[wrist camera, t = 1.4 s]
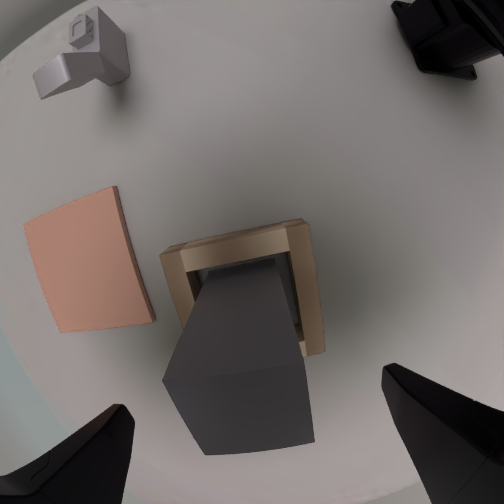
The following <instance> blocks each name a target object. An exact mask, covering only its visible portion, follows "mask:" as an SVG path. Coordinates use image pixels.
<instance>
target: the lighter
mask: <svg viewBox="0 0 504 504" xmlns="http://www.w3.org/2000/svg"><path fill="white" fill-rule="evenodd" d="M69 44H71V45H72V46H73V53H62V54H60V55H58V56H56V57H55V58H53V59H52V60H51V61H49V62H48V63H46V64H45V65H44V66H42V67H41V68H40V69H38V70H37V71H36V72H35V73H33V78H34V81H35V85H36V88H37V90H38V93H39V96H40V99H41V100H42V99H45V98H48V97H50V96H53V95H56V94H59V93H62V92H65V91H68V90H71V89H74V88H78V87H80V86H82V85H84V84H86V83H88V82H89V81H91V80H93V79H95V78H97V79H98V80H100V81H102V82H103V83H105V84H107V85H109V86H111V85H113V84H115V83H117V82H120V81H122V80H124V79H126V78H128V77H129V76H130V68H129V62H128V55H127V48H126V40H125V34H124V33H123V32H122V31H121V29H120V28H119V27H118V26H117V25H116V24H115V23H114V22H113V21H112V20H111V19H110V18H109V17H108V16H107V15H106V14H105V13H104V12H103V11H102V10H101V9H100V8H99V7H98V6H94V7H93V8H91V9H89V10H87V11H86V12H84V13H82V14H79V15H78V16H77V17H76V18H75V19H74V20H73V21H72V22H71V23H69Z"/></svg>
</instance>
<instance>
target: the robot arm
mask: <svg viewBox="0 0 504 504" xmlns="http://www.w3.org/2000/svg"><path fill="white" fill-rule="evenodd" d="M398 6H399V7H398ZM392 8H393V9H394V11H395V13H396V15H397V17H398V19H399V22H400V24H401V26H402V28H403V30H404V32H405V35H406V37H407V39H408V42H409V44H410V47H411V49H412V51H413V54H414V57H415V59H416V62H417V65H418V67H419V69H420V70H421V71H423V72H425V73H432V74H440V75H446V76H452V77H458V78H463V79H468V80H475V79H477V75H476V72H475V69H474V66H473V64H475V63H477V62H480V61H482V60H485V59H488V58H490V57H493V56H496V55H498V54H502V55H503V56H504V0H415V1H414V2H413V3H412V4H410V3H406V2H401V1H394V2H393V3H392ZM423 64H424V65H425V66H424V65H423ZM381 386H382V390H383V393H384V396H385V398H386V401H387V404H388V407H389V410H390V412H391V415H392V418H393V421H394V424H395V426H396V428H397V430H398V432H399V434H400V436H401V438H402V440H403V442H404V444H405V446H406V448H407V451H408V453H409V455H410V457H411V459H412V461H413V463H414V465H415V467H416V470H417V472H418V474H419V476H420V478H421V480H422V483H423V485H424V487H425V489H426V491H427V494H428V496H429V498H430V501H431V503H432V504H504V411H501V410H498V409H495V408H492V407H490V406H487V405H485V404H482V403H480V402H478V401H473V399H471V398H469V397H466V396H464V395H462V394H460V393H458V392H455V391H453V390H451V389H449V388H447V387H445V386H442V385H440V384H438V383H436V382H434V381H432V380H430V379H428V378H426V377H423V376H421V375H419V374H417V373H415V372H413V371H411V370H409V369H407V368H405V367H403V366H401V365H399V364H397V363H391V364H388V365H385V366H384V367H383V370H382V382H381ZM134 428H135V421H134V418H133V417H132V415H131V414H130V412H129V411H128V409H127V408H126V406H125V405H123V404H113V405H112V406H110V407H109V408H108V409H106V410H105V411H104V412H102V413H101V414H100V415H98V416H97V417H96V418H94V419H93V420H91V421H90V422H89V423H87V424H86V425H85V426H83V427H82V428H80V429H79V430H78V431H76V432H75V433H73V434H72V435H71V436H69V437H68V438H67V439H65V440H64V441H62V442H61V443H59V444H58V445H57V446H55V447H54V448H52V449H51V450H49V451H48V452H47V453H45V454H43V455H42V456H40V457H39V458H37V459H36V460H34V461H32V462H30V463H29V464H27V465H25V466H23V467H21V468H19V469H17V470H15V471H14V472H12V473H10V474H7V475H4V476H0V504H121V503H122V498H123V493H124V488H125V483H126V478H127V473H128V469H129V464H130V459H131V453H132V444H133V436H134Z"/></svg>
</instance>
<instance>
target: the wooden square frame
mask: <svg viewBox="0 0 504 504" xmlns="http://www.w3.org/2000/svg"><path fill="white" fill-rule="evenodd" d="M286 251H287V255H288V261H289V266H290V272H291V277H292V283H293V289H294V295H295V300H296V306H297V312H298V318H299V325H296V326H294V327H295V331H296V334H297V338H298V341H299V345H300V348H301V352H302V356H303V357H306V356H310V355H314V354H319V353H323V352H326V349H325V339H324V330H323V321H322V313H321V304H320V297H319V289H318V282H317V275H316V268H315V261H314V255H313V248H312V242H311V236H310V230H309V224H308V223H307V222H305V221H304V220H303V219H296V220H291V221H286V222H282V223H277V224H272V225H267V226H262V227H257V228H253V229H248V230H243V231H239V232H234V233H229V234H225V235H220V236H215V237H211V238H206V239H202V240H197V241H193V242H189V243H184V244H180V245H175V246H171V247H169V248H168V249H166V250H165V251H164V252H163V253H162V254H160V255H159V256H160V259H161V263H162V266H163V270H164V273H165V276H166V279H167V283H168V286H169V289H170V292H171V295H172V298H173V301H174V304H175V307H176V310H177V313H178V316H179V319H180V322H181V324H182V327H183V330H184V327H185V325H186V323H187V320H188V318H189V316H190V313H191V311H192V309H193V306H194V304H195V302H196V300H197V297H198V295H199V293H200V290H201V288H200V285H199V281H198V278H197V274H196V271H195V270H199V269H204V268H209V267H214V266H219V265H224V264H228V263H233V262H238V261H243V260H248V259H253V258H258V257H262V256H267V255H272V254H277V253H282V252H286Z"/></svg>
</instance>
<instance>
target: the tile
mask: <svg viewBox="0 0 504 504" xmlns="http://www.w3.org/2000/svg"><path fill="white" fill-rule="evenodd" d="M23 226H24V230H25V234H26V238H27V242H28V246H29V250H30V253H31V257H32V260H33V263H34V266H35V270H36V273H37V276H38V279H39V281H40V284H41V287H42V290H43V293H44V295H45V298H46V300H47V303H48V306H49V308H50V310H51V313H52V315H53V318H54V320H55V322H56V324H57V327H58V329H59V331H60V333H65V332H76V331H87V330H97V329H106V328H115V327H123V326H132V325H139V324H147V323H153V322H154V320H155V316H154V313H153V310H152V308H151V305H150V302H149V299H148V296H147V294H146V291H145V288H144V285H143V282H142V279H141V276H140V272H139V269H138V266H137V263H136V259H135V256H134V253H133V249H132V246H131V242H130V239H129V235H128V231H127V228H126V224H125V220H124V216H123V212H122V208H121V204H120V199H119V195H118V190H117V186H112V187H109V188H106V189H104V190H101V191H98V192H96V193H93V194H91V195H88V196H85V197H83V198H80V199H78V200H76V201H73V202H71V203H68V204H66V205H64V206H61V207H59V208H57V209H54V210H52V211H50V212H48V213H45V214H43V215H41V216H39V217H37V218H35V219H33V220H31V221H29V222H26V223H24V224H23Z"/></svg>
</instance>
